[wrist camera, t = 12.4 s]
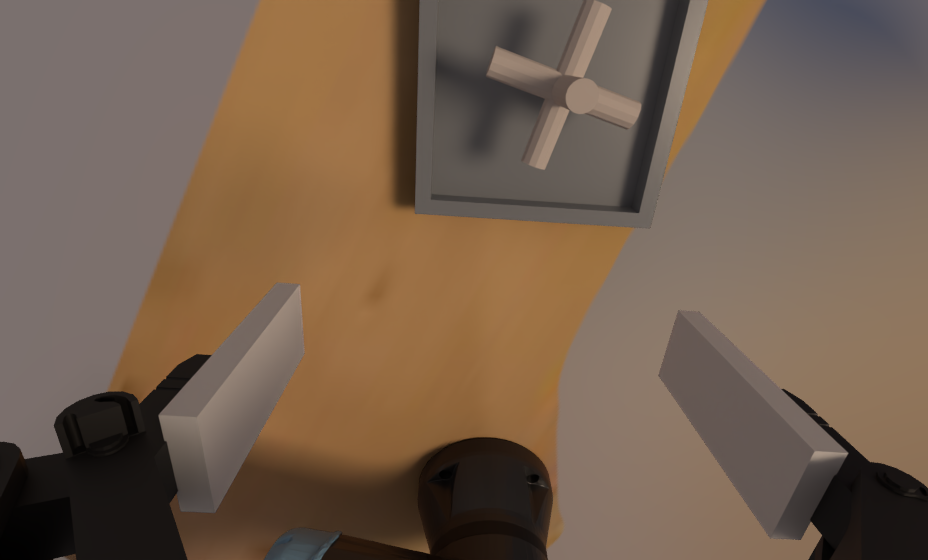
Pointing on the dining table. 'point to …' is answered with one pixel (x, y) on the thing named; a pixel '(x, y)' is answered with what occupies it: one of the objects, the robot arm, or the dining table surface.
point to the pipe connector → (564, 85)
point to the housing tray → (515, 111)
